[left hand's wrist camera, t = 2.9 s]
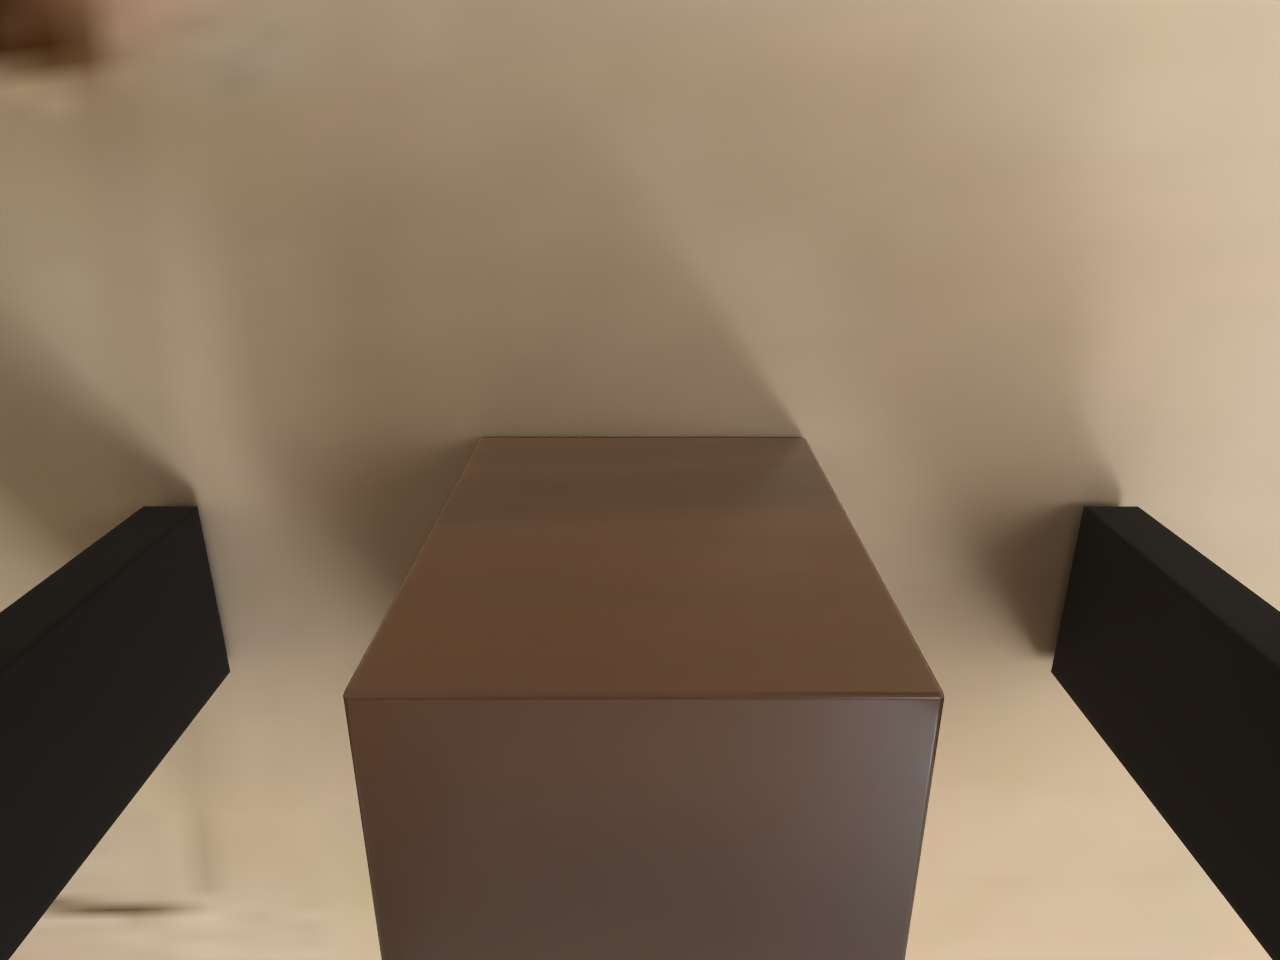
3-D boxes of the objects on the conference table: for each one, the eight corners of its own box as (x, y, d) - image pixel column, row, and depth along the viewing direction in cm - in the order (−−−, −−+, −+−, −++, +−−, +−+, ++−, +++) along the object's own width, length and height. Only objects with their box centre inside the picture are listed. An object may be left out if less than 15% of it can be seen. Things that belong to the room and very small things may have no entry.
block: (479, 436, 12) (340, 694, 7) (805, 437, 12) (948, 694, 6) (498, 709, 14) (399, 1102, 8) (786, 710, 14) (884, 1102, 8)
